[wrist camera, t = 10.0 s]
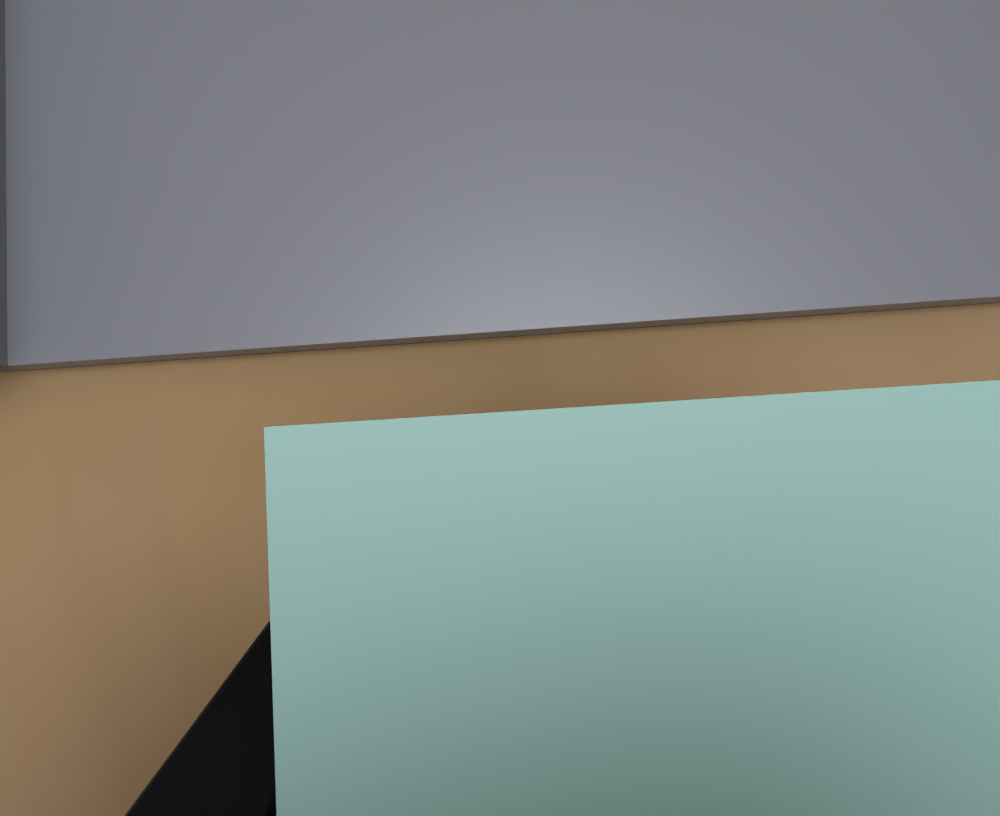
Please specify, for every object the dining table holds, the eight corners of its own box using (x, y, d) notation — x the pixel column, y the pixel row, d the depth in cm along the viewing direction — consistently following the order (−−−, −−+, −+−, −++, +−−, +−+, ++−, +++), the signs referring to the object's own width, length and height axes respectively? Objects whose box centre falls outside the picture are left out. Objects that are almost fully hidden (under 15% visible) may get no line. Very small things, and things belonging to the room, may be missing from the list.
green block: (754, 754, 15) (1134, 1223, 5) (455, 767, 16) (290, 1241, 6) (729, 455, 16) (1033, 378, 6) (440, 472, 16) (263, 427, 6)
